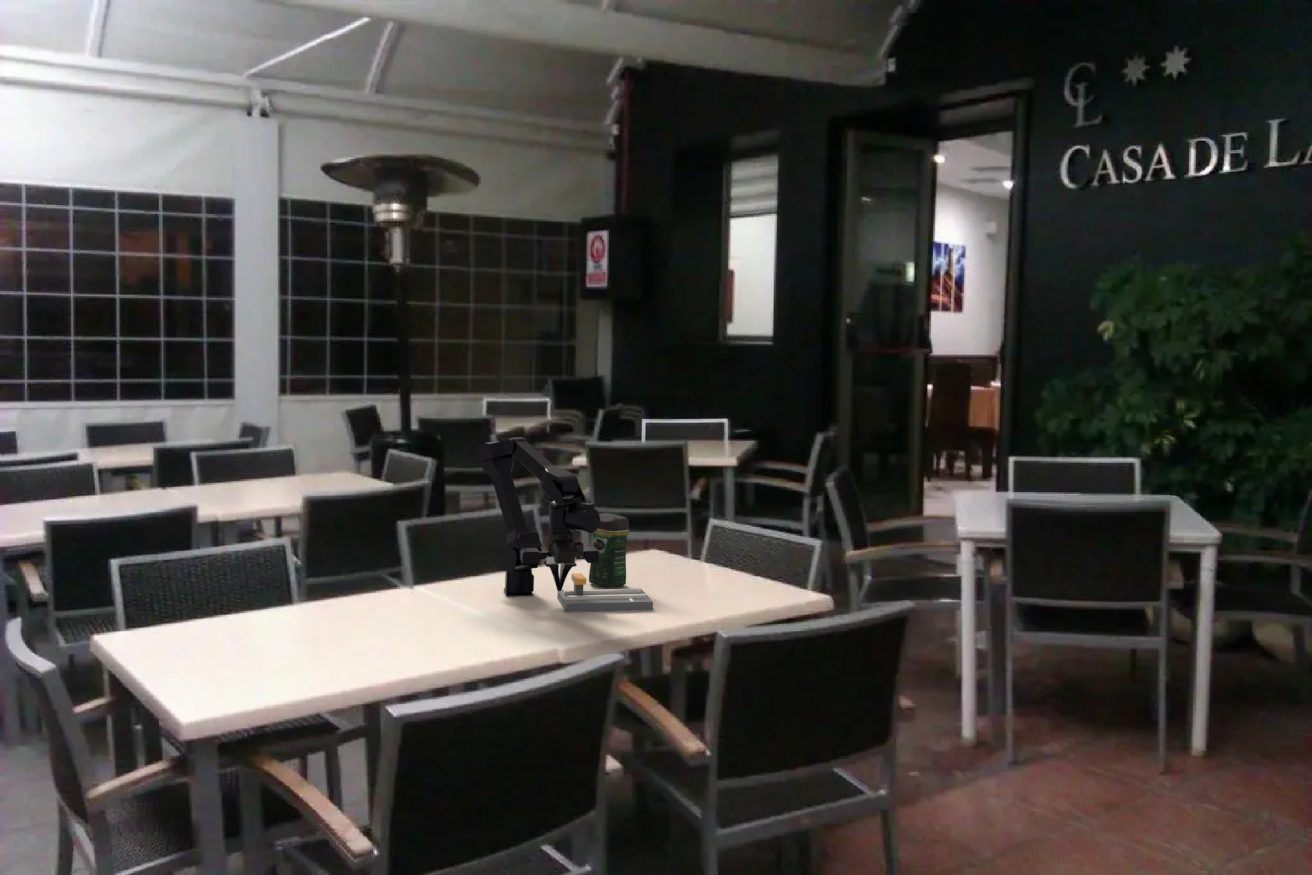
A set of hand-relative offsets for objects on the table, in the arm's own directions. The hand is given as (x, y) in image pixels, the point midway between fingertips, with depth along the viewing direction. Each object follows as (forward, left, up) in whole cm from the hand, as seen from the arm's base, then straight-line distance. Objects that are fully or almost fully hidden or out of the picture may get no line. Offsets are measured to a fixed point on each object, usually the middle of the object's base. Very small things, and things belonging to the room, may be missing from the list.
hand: (559, 590), depth 269 cm
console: (+11, 0, -4) cm, 12 cm away
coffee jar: (+16, +19, -4) cm, 25 cm away
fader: (+5, 0, -1) cm, 5 cm away
